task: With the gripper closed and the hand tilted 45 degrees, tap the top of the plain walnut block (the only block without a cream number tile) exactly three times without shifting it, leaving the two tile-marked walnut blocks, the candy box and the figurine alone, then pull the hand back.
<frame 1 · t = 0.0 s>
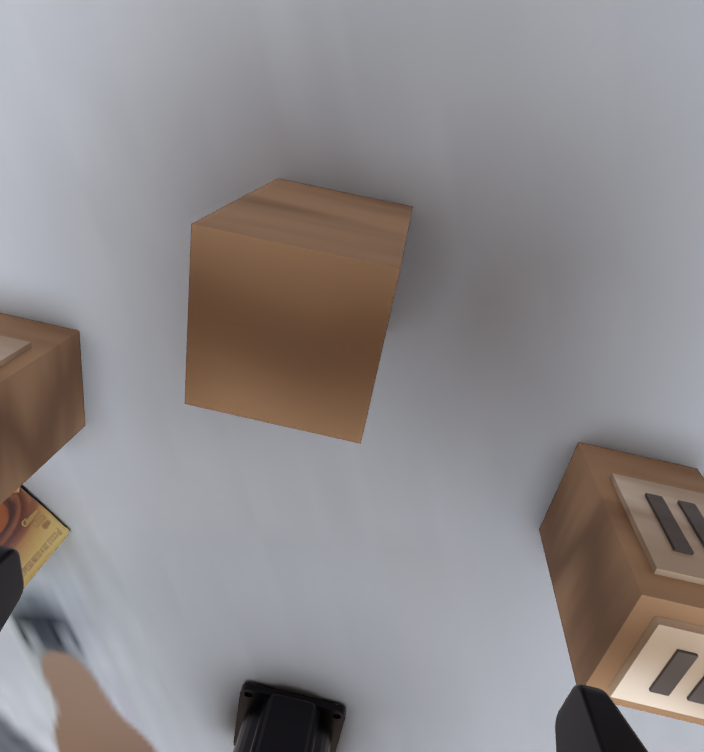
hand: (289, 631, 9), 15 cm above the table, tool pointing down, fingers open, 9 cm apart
plain block: (333, 259, 21), on the table
tile block 1: (613, 500, 24), on the table
tile block 2: (30, 368, 25), on the table
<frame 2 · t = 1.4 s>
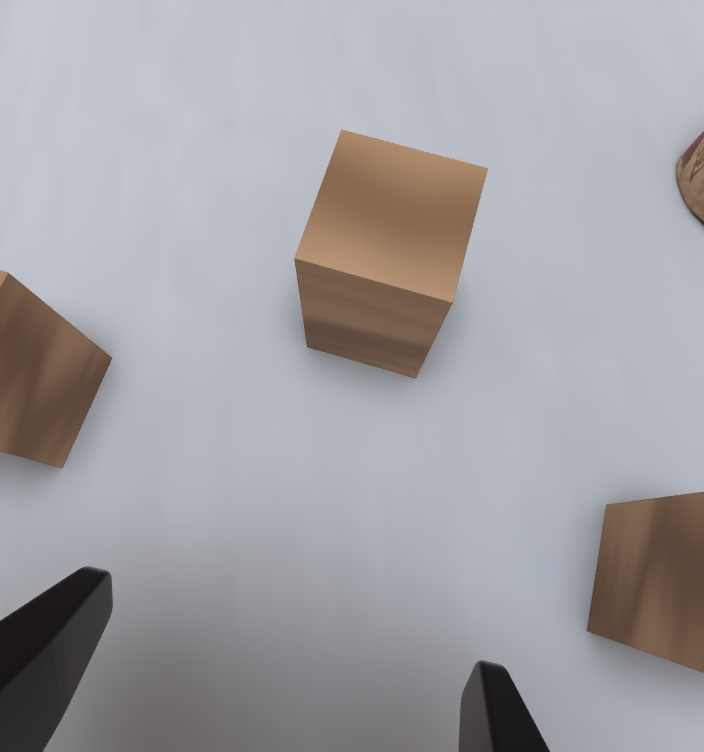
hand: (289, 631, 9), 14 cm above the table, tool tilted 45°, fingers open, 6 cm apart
plain block: (376, 312, 25), on the table
tile block 1: (658, 584, 22), on the table
tile block 2: (33, 394, 23), on the table
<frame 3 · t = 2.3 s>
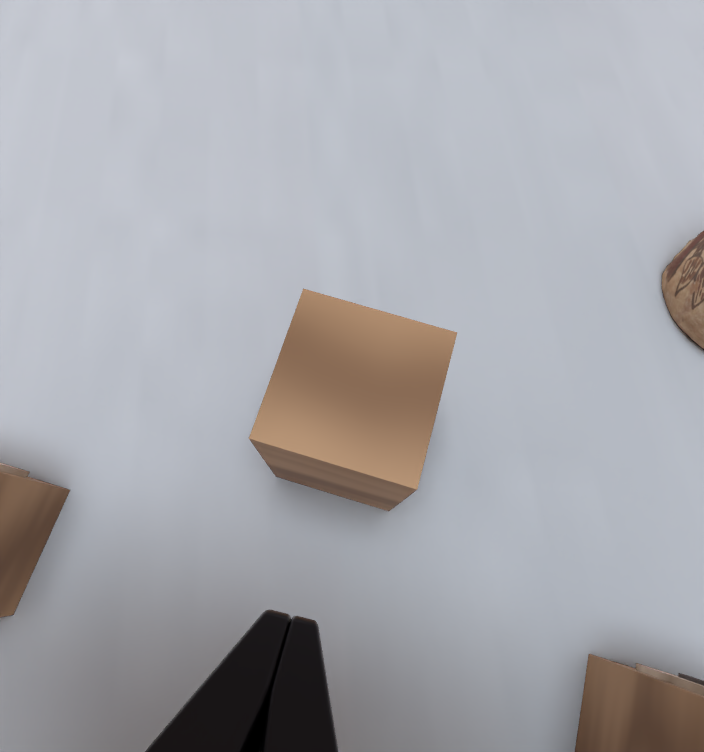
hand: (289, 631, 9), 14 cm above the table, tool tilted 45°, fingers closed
plain block: (349, 438, 24), on the table
tile block 1: (643, 744, 21), on the table
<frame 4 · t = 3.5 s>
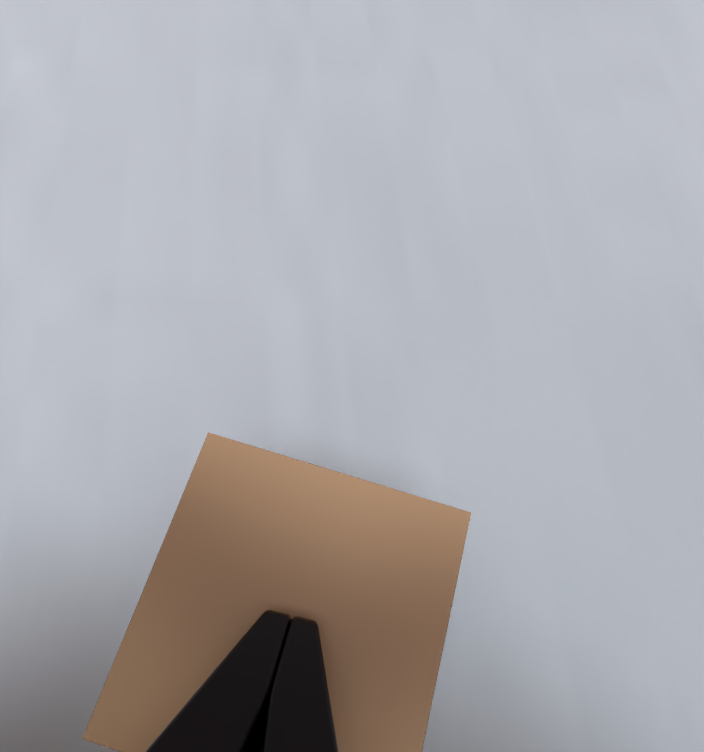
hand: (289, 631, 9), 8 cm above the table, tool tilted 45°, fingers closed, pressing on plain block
plain block: (305, 607, 16), on the table, touching gripper
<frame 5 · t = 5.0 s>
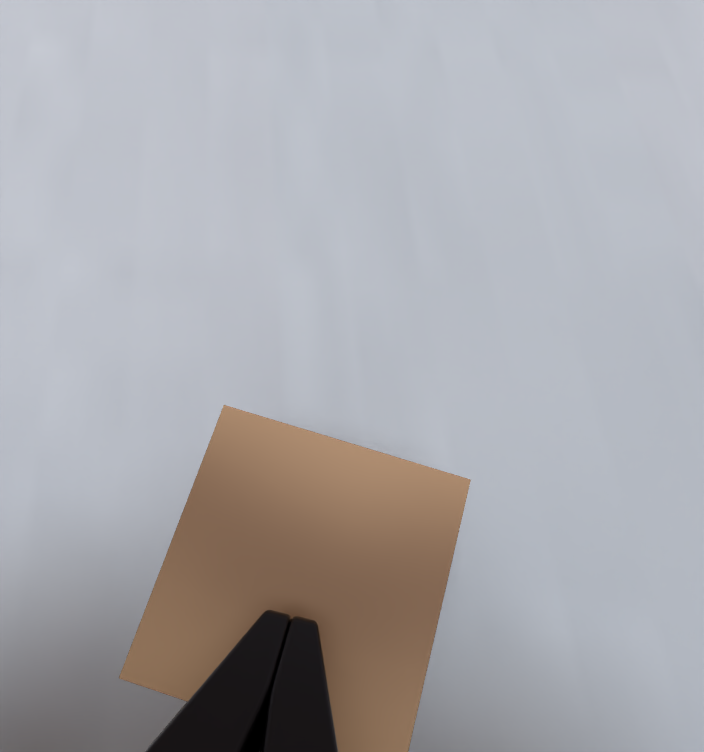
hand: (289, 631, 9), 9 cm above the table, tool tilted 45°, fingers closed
plain block: (317, 562, 18), on the table
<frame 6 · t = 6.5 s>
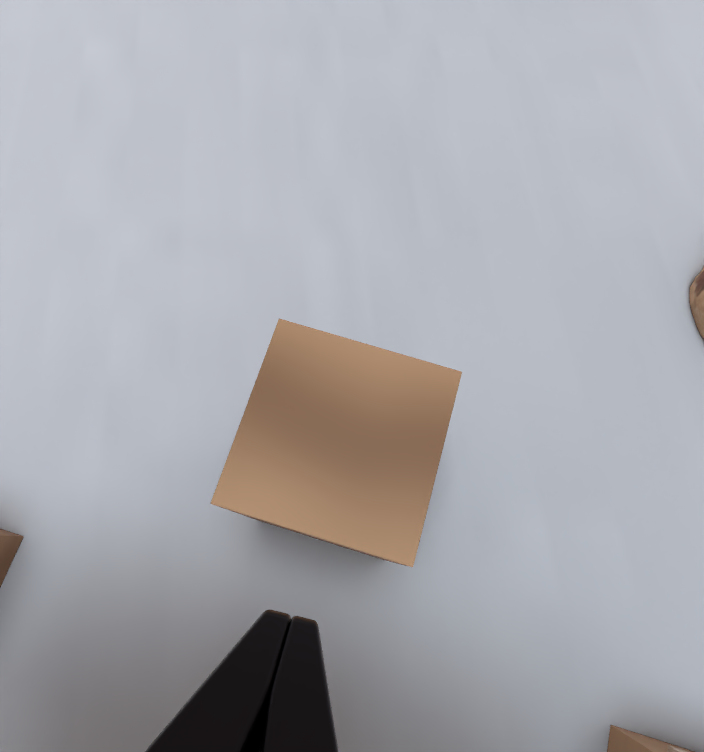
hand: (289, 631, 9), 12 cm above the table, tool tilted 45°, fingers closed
plain block: (339, 475, 21), on the table
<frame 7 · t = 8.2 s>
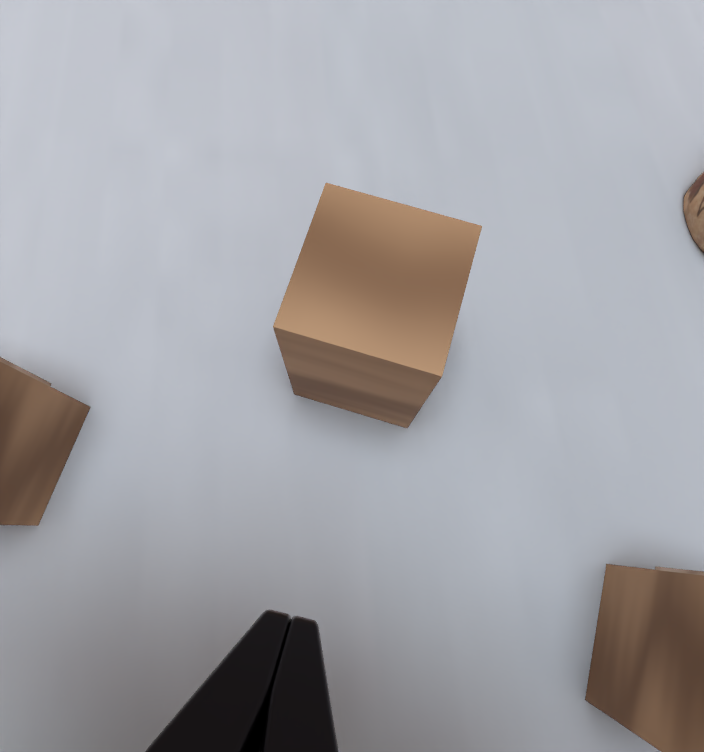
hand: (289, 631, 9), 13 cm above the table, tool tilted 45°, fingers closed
plain block: (367, 357, 24), on the table
tile block 1: (660, 649, 21), on the table
tile block 2: (8, 446, 22), on the table
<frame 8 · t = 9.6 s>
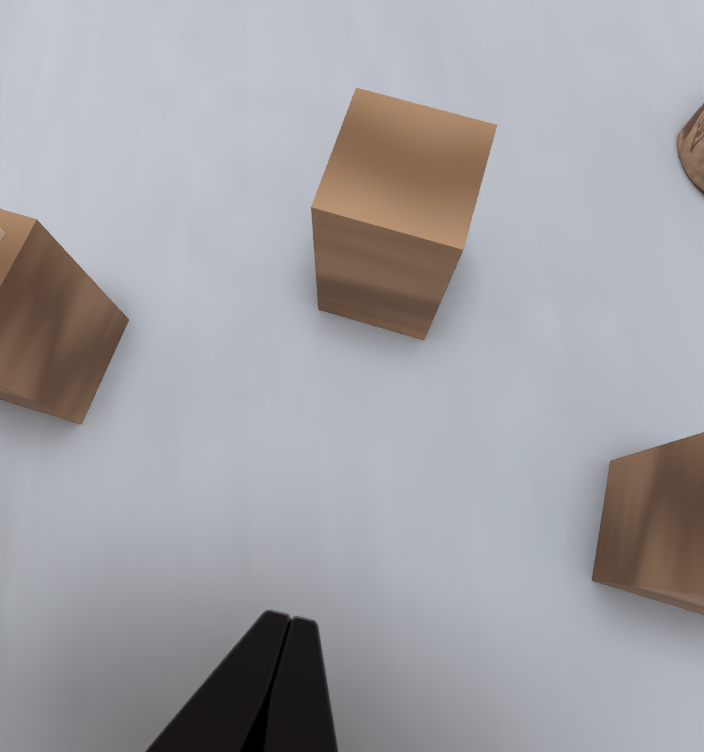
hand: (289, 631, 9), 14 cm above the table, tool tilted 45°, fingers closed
plain block: (385, 277, 26), on the table
tile block 1: (661, 536, 23), on the table
tile block 2: (52, 354, 24), on the table
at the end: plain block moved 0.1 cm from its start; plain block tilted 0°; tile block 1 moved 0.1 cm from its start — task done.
